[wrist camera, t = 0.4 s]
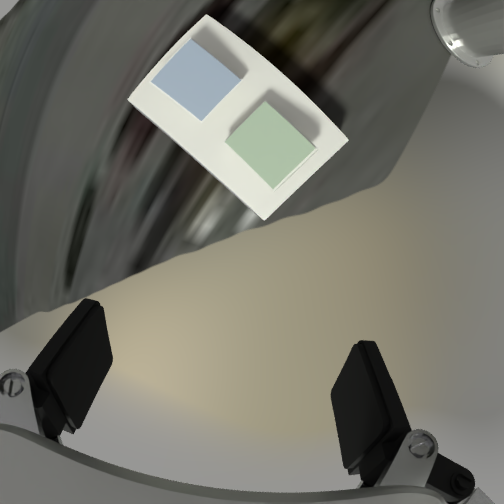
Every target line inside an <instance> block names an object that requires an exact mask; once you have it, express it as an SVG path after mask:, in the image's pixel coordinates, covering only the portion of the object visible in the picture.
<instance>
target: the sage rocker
mask: <svg viewBox="0 0 504 504" xmlns="http://www.w3.org/2000/svg"><path fill="white" fill-rule="evenodd" d="M223 143H224V144H225V145H226V146H227V147H228V148H230V149H231V150H232V151H233V152H234V153H235V154H236V155H237V156H238V157H239V158H240V159H241V160H242V161H243V162H244V163H245V164H246V165H247V166H248V167H249V168H250V169H251V170H252V171H253V172H254V173H255V174H256V175H257V176H258V177H259V178H260V179H261V180H262V181H263V182H264V183H265V184H266V185H267V186H268V187H269V188H270V189H271V190H272V191H273V192H275V191H276V190H277V189H278V188H279V187H280V186H281V185H283V184H284V183H285V182H286V181H287V180H288V179H289V178H290V177H291V176H292V175H293V174H294V173H295V172H296V171H297V170H298V169H299V168H300V167H301V166H302V165H303V164H304V163H305V162H306V161H307V160H309V159H310V158H311V157H312V156H313V155H314V154H315V153H316V152H317V151H318V148H317V147H316V146H315V145H314V144H313V143H312V142H311V141H310V140H309V139H308V138H307V137H306V136H305V135H304V134H303V133H302V132H301V131H300V130H299V129H298V128H297V127H296V126H295V125H293V124H292V123H291V122H290V121H289V120H288V119H287V118H286V117H285V116H284V115H283V114H282V113H280V112H279V111H278V110H277V109H276V108H275V107H274V106H273V105H271V104H270V103H269V102H268V101H267V100H265V101H264V102H263V103H262V104H261V105H259V106H258V107H257V108H256V109H255V110H254V111H253V112H252V113H251V114H250V115H249V116H248V117H247V118H246V119H245V120H244V121H243V122H242V123H241V124H240V125H239V126H238V127H237V128H236V129H235V131H234V132H233V133H232V134H231V135H230V136H229V137H228V138H227V139H226V140H225V141H224V142H223Z"/></svg>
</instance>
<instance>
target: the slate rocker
mask: <svg viewBox="0 0 504 504" xmlns="http://www.w3.org/2000/svg"><path fill="white" fill-rule="evenodd" d="M242 81H244V80H243V79H242V78H241V77H240V76H238V75H237V74H236V73H235V72H234V71H233V70H231V69H230V68H229V67H228V66H227V65H225V64H224V63H223V62H222V61H221V60H219V59H218V58H217V57H216V56H215V55H213V54H212V53H211V52H210V51H208V50H207V49H206V48H205V47H203V46H202V45H201V44H199V43H198V42H197V41H196V40H194V39H193V38H192V37H190V38H189V39H188V40H187V41H186V42H185V43H184V44H183V45H182V46H181V47H180V48H179V49H178V50H177V51H176V52H175V53H174V54H173V55H172V56H171V57H170V58H169V60H168V61H167V62H166V63H165V64H164V65H163V66H162V67H161V68H160V69H159V71H158V72H157V73H156V74H155V75H154V76H153V78H152V79H151V80H150V81H149V83H150V84H152V85H153V86H154V87H156V88H157V89H158V90H160V91H161V92H162V93H164V94H165V95H166V96H168V97H169V98H170V99H172V100H173V101H174V102H175V103H177V104H178V105H179V106H180V107H182V108H183V109H184V110H186V111H187V112H188V113H189V114H191V115H192V116H193V117H194V118H196V119H197V120H198V121H199V122H200V123H203V122H204V120H205V119H206V118H207V117H208V116H209V115H210V114H211V113H212V112H213V111H214V110H215V109H216V108H217V107H218V106H219V105H220V103H221V102H222V101H223V100H224V99H225V98H226V97H227V96H228V95H229V94H230V93H231V92H232V91H233V90H234V89H235V88H236V87H237V86H238V85H239V84H240V83H241V82H242Z"/></svg>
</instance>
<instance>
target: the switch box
mask: <svg viewBox="0 0 504 504" xmlns="http://www.w3.org/2000/svg"><path fill="white" fill-rule="evenodd" d="M190 37H192V38H193V39H194V40H196V41H197V42H198V43H199V44H201V45H202V46H203V47H205V48H206V49H207V50H208V51H210V52H211V53H212V54H213V55H215V56H216V57H217V58H218V59H219V60H221V61H222V62H223V63H224V64H225V65H227V66H228V67H229V68H230V69H231V70H233V71H234V72H235V73H236V74H237V75H238V76H240V77H241V78H242V79H243V80H244V81H242V82H241V83H240V84H239V85H238V86H237V87H236V88H235V89H234V90H233V91H232V92H231V93H230V94H229V95H228V96H227V97H226V98H225V99H224V100H223V101H222V102H221V103H220V105H219V106H218V107H217V108H216V109H215V110H214V111H213V112H212V113H211V114H210V115H209V116H208V117H207V118H206V119H205V120H204V122H203V123H200V122H199V121H198V120H197V119H196V118H194V117H193V116H192V115H191V114H189V113H188V112H187V111H186V110H184V109H183V108H182V107H180V106H179V105H178V104H177V103H175V102H174V101H173V100H172V99H170V98H169V97H168V96H166V95H165V94H164V93H162V92H161V91H160V90H158V89H157V88H156V87H154V86H153V85H152V84H150V83H149V81H150V80H151V79H152V78H153V76H154V75H155V74H156V73H157V72H158V71H159V69H160V68H161V67H162V66H163V65H164V64H165V63H166V62H167V61H168V60H169V58H170V57H171V56H172V55H173V54H174V53H175V52H176V51H177V50H178V49H179V48H180V47H181V46H182V45H183V44H184V43H185V42H186V41H187V40H188V39H189V38H190ZM127 100H128V101H130V102H131V103H132V104H133V105H134V107H135V108H136V109H137V110H139V111H140V112H141V113H142V114H143V115H145V116H146V117H147V118H148V119H149V120H150V121H152V122H153V123H154V124H155V125H156V126H157V127H159V128H160V129H161V130H162V131H163V132H164V133H166V134H167V135H168V136H169V137H170V138H171V139H172V140H174V141H175V142H176V143H177V144H178V145H179V146H180V147H182V148H183V149H184V150H185V151H186V152H187V153H188V154H190V155H191V156H192V157H193V158H194V159H195V160H196V161H197V162H199V163H200V164H201V165H202V166H203V167H204V168H205V169H206V170H208V171H209V172H210V173H211V174H212V175H213V176H214V177H215V178H216V179H218V180H219V181H220V182H221V183H222V184H223V185H224V186H225V187H226V188H228V189H229V190H230V191H231V192H232V193H233V194H234V195H235V196H236V197H237V198H239V199H240V200H241V201H242V202H243V203H244V204H245V205H246V206H247V207H248V208H249V209H251V210H252V211H253V212H254V213H255V214H256V215H259V216H260V217H261V218H262V219H263V220H266V219H267V218H268V217H269V216H270V215H271V214H272V213H273V212H274V211H275V210H276V209H277V208H278V207H279V206H280V205H281V204H282V203H283V202H284V201H285V200H286V199H287V198H288V197H289V196H290V195H292V194H293V193H294V192H295V191H296V190H297V189H298V188H299V187H300V186H301V185H302V184H303V183H304V182H305V181H306V180H307V179H308V178H309V177H310V176H311V175H312V174H314V173H315V172H316V171H317V170H318V169H319V168H320V167H321V166H322V165H323V164H324V163H325V162H326V161H327V160H328V159H329V158H330V157H332V156H333V155H334V154H335V153H336V152H337V151H338V150H339V149H340V148H341V147H342V146H343V145H344V144H345V143H346V142H347V141H349V140H348V139H347V137H346V136H345V135H344V134H343V133H342V132H341V131H340V130H339V129H338V128H337V126H336V125H335V124H334V123H333V122H332V121H331V120H330V119H329V118H328V117H327V116H326V115H325V114H324V113H323V112H322V111H321V110H320V109H319V108H318V107H317V106H316V105H315V104H314V103H313V102H312V101H311V100H310V99H309V98H308V97H307V96H306V95H305V94H304V93H303V92H302V91H301V90H300V89H299V88H298V87H297V86H296V85H295V84H294V83H292V82H291V81H290V80H289V79H288V78H287V77H286V76H285V75H284V74H283V73H281V72H280V71H279V70H278V69H277V68H276V67H275V66H273V65H272V64H271V63H270V62H269V61H268V60H266V59H265V58H264V57H263V56H262V55H260V54H259V53H258V52H257V51H255V50H254V49H253V48H252V47H250V46H249V45H248V44H247V43H245V42H244V41H243V40H242V39H240V38H239V37H238V36H236V35H235V34H234V33H232V32H231V31H230V30H228V29H227V28H226V27H224V26H223V25H221V24H220V23H219V22H217V21H216V20H214V19H213V18H211V17H210V16H208V15H207V14H206V15H205V16H204V17H203V18H202V19H201V20H200V21H199V22H197V23H196V24H195V25H194V26H193V27H192V28H191V29H190V30H189V31H188V32H187V33H186V34H185V35H184V36H183V37H182V38H181V39H180V40H179V41H178V42H177V43H176V44H175V45H174V46H173V47H172V48H171V49H170V50H169V51H168V52H167V53H166V54H165V56H164V57H163V58H162V59H161V60H160V61H159V62H158V63H157V64H156V66H155V67H154V68H153V69H152V70H151V71H150V72H149V74H148V75H147V76H146V77H145V78H144V79H143V81H142V82H141V83H140V84H139V86H138V87H137V88H136V89H135V91H134V92H133V93H132V94H131V96H130V97H129V98H128V99H127ZM265 100H267V101H268V102H269V103H270V104H271V105H273V106H274V107H275V108H276V109H277V110H278V111H279V112H280V113H282V114H283V115H284V116H285V117H286V118H287V119H288V120H289V121H290V122H291V123H292V124H293V125H295V126H296V127H297V128H298V129H299V130H300V131H301V132H302V133H303V134H304V135H305V136H306V137H307V138H308V139H309V140H310V141H311V142H312V143H313V144H314V145H315V146H316V147H317V148H318V151H317V152H316V153H315V154H314V155H313V156H312V157H311V158H310V159H309V160H307V161H306V162H305V163H304V164H303V165H302V166H301V167H300V168H299V169H298V170H297V171H296V172H295V173H294V174H293V175H292V176H291V177H290V178H289V179H288V180H287V181H286V182H285V183H284V184H283V185H281V186H280V187H279V188H278V189H277V190H276V191H275V192H273V191H272V190H271V189H270V188H269V187H268V186H267V185H266V184H265V183H264V182H263V181H262V180H261V179H260V178H259V177H258V176H257V175H256V174H255V173H254V172H253V171H252V170H251V169H250V168H249V167H248V166H247V165H246V164H245V163H244V162H243V161H242V160H241V159H240V158H239V157H238V156H237V155H236V154H235V153H234V152H233V151H232V150H231V149H230V148H228V147H227V146H226V145H225V144H224V143H223V142H224V141H225V140H226V139H227V138H228V137H229V136H230V135H231V134H232V133H233V132H234V131H235V129H236V128H237V127H238V126H239V125H240V124H241V123H242V122H243V121H244V120H245V119H246V118H247V117H248V116H249V115H250V114H251V113H252V112H253V111H254V110H255V109H256V108H257V107H258V106H259V105H261V104H262V103H263V102H264V101H265Z"/></svg>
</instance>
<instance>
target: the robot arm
mask: <svg viewBox="0 0 504 504" xmlns="http://www.w3.org/2000/svg"><path fill="white" fill-rule="evenodd" d="M430 14H431V20H432V24H433V27H434V29H435V31H436V34H437V35H438V37H439V39H440V41H441V42H442V43H443V45H444V46H445V48H446V49H447V50H448V51H449V52H450V53H451V54H452V55H453V56H454V57H455V58H456V59H457V60H459V61H460V62H462V63H463V64H465V65H467V66H470V67H474V68H479V67H485V66H487V65H488V64H489V63H490V62H491V60H492V58H493V55H498V54H504V0H434V1H433V2H432V5H431V11H430ZM112 361H113V356H112V352H111V346H110V341H109V337H108V331H107V326H106V320H105V314H104V308H103V307H102V306H100V303H99V302H98V301H95V300H91V299H87V298H85V299H83V300H82V301H81V303H80V304H79V305H78V306H77V307H76V308H75V310H74V311H73V312H72V313H71V314H70V316H69V317H68V318H67V319H66V320H65V322H64V323H63V324H62V326H61V327H60V328H59V329H58V330H57V332H56V333H55V334H54V335H53V337H52V338H51V339H50V341H49V342H48V343H47V345H46V346H45V347H44V349H43V350H42V351H41V352H40V354H39V355H38V356H37V358H36V359H35V360H34V362H33V363H32V365H31V366H30V367H29V369H28V371H27V372H26V373H24V372H23V371H21V370H18V369H9V370H6V371H4V372H3V373H1V374H0V504H495V503H494V502H492V500H491V499H490V498H489V497H488V496H487V495H486V494H485V493H484V492H483V491H482V490H481V489H480V488H476V489H475V488H474V487H475V479H474V477H473V475H472V473H471V472H470V471H469V470H468V469H466V468H464V467H462V466H461V465H459V464H457V463H455V462H453V461H451V460H450V459H448V458H446V457H444V456H442V455H441V454H439V453H438V443H437V441H436V438H435V437H434V436H433V435H432V434H430V433H429V432H428V431H425V430H422V429H416V430H413V431H412V430H411V428H410V425H409V422H408V419H407V417H406V414H405V411H404V408H403V406H402V403H401V401H400V398H399V396H398V393H397V391H396V388H395V386H394V383H393V381H392V379H391V377H390V375H389V372H388V370H387V368H386V365H385V363H384V361H383V358H382V356H381V353H380V352H379V349H378V347H377V344H376V343H375V342H374V341H363V340H361V341H359V342H358V343H357V344H354V345H353V347H352V349H351V352H350V354H349V356H348V358H347V360H346V362H345V364H344V366H343V368H342V370H341V372H340V374H339V376H338V378H337V380H336V382H335V384H334V386H333V388H332V390H331V401H332V406H333V411H334V416H335V421H336V427H337V432H338V438H339V443H340V448H341V455H342V461H343V466H344V468H345V469H348V474H349V475H355V474H360V477H361V482H360V483H359V485H358V486H357V488H356V489H350V490H339V491H325V492H303V493H302V492H301V493H275V492H274V493H273V492H253V491H239V490H229V489H219V488H213V487H206V486H199V485H193V484H188V483H182V482H177V481H172V480H168V479H163V478H159V477H155V476H150V475H147V474H143V473H139V472H136V471H132V470H129V469H126V468H123V467H119V466H116V465H113V464H110V463H107V462H104V461H102V460H99V459H96V458H93V457H90V456H88V455H86V454H83V453H80V452H78V451H75V450H73V449H71V448H68V447H66V446H64V445H63V444H62V440H61V437H60V434H61V432H62V430H64V431H67V432H69V433H71V434H74V432H75V430H76V429H79V428H80V427H81V426H82V423H83V421H84V419H85V417H86V415H87V413H88V411H89V408H90V407H91V405H92V403H93V400H94V398H95V396H96V394H97V392H98V390H99V388H100V386H101V384H102V382H103V380H104V378H105V376H106V375H107V373H108V371H109V369H110V367H111V365H112Z"/></svg>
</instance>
